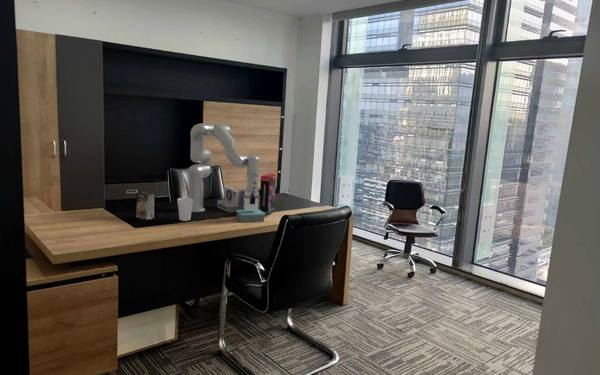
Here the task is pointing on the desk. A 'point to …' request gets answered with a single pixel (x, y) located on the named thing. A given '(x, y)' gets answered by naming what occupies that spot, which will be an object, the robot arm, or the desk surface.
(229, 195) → the instant camera
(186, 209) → the foam cup
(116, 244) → the desk surface
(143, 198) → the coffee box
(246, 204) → the carton
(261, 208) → the graphics card box
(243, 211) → the podium
